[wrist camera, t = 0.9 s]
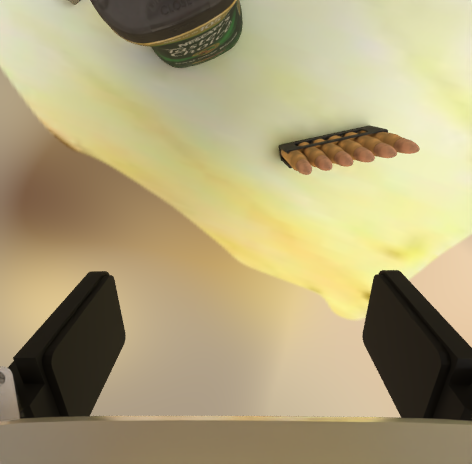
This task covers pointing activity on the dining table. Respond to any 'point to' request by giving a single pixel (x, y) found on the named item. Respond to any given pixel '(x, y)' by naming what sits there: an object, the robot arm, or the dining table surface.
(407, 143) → the ammunition clip
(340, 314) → the dining table surface
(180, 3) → the coffee jar
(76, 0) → the hinge
